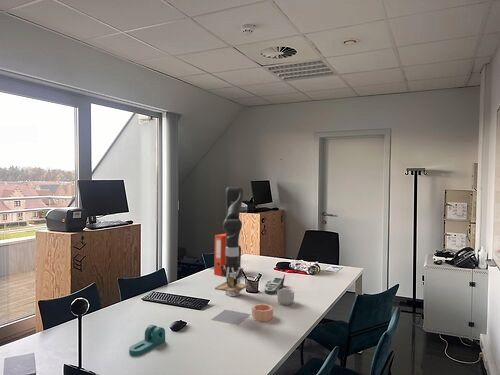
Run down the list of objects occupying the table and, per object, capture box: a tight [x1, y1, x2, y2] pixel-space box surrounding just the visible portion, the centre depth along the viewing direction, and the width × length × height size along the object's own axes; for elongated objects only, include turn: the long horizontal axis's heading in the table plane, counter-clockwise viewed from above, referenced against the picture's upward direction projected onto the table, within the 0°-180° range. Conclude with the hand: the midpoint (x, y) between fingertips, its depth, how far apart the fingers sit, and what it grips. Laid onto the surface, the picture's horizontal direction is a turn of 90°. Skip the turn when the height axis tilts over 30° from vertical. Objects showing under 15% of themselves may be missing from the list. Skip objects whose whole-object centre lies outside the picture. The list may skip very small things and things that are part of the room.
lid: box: [214, 276, 249, 293], centre depth 208 cm, size 14×14×6 cm
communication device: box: [264, 274, 286, 295], centre depth 261 cm, size 12×24×9 cm, turn 159°
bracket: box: [128, 324, 166, 357], centre depth 172 cm, size 18×7×8 cm, turn 150°
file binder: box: [213, 232, 227, 277], centre depth 302 cm, size 8×17×32 cm, turn 142°
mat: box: [210, 309, 252, 326], centre depth 208 cm, size 17×17×1 cm
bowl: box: [251, 303, 274, 322], centre depth 208 cm, size 11×11×6 cm
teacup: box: [276, 287, 295, 306], centre depth 234 cm, size 14×11×8 cm
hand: (231, 284), depth 208 cm, fingers closed on lid, 3 cm apart
